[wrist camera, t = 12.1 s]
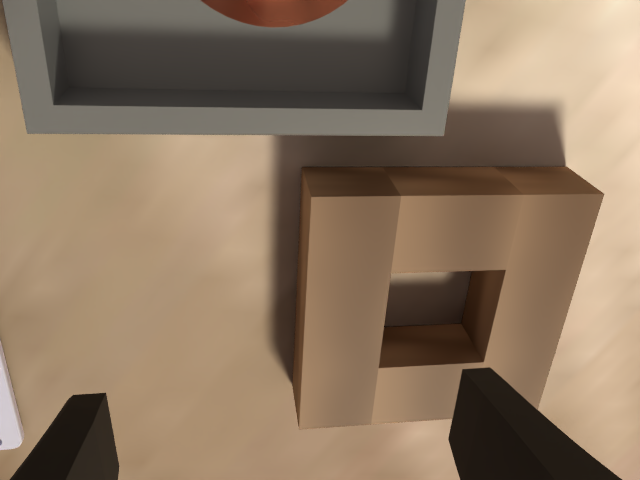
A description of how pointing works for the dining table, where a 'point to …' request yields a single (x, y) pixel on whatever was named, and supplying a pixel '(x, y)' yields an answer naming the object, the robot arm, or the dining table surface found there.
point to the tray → (233, 68)
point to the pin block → (431, 256)
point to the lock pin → (274, 11)
